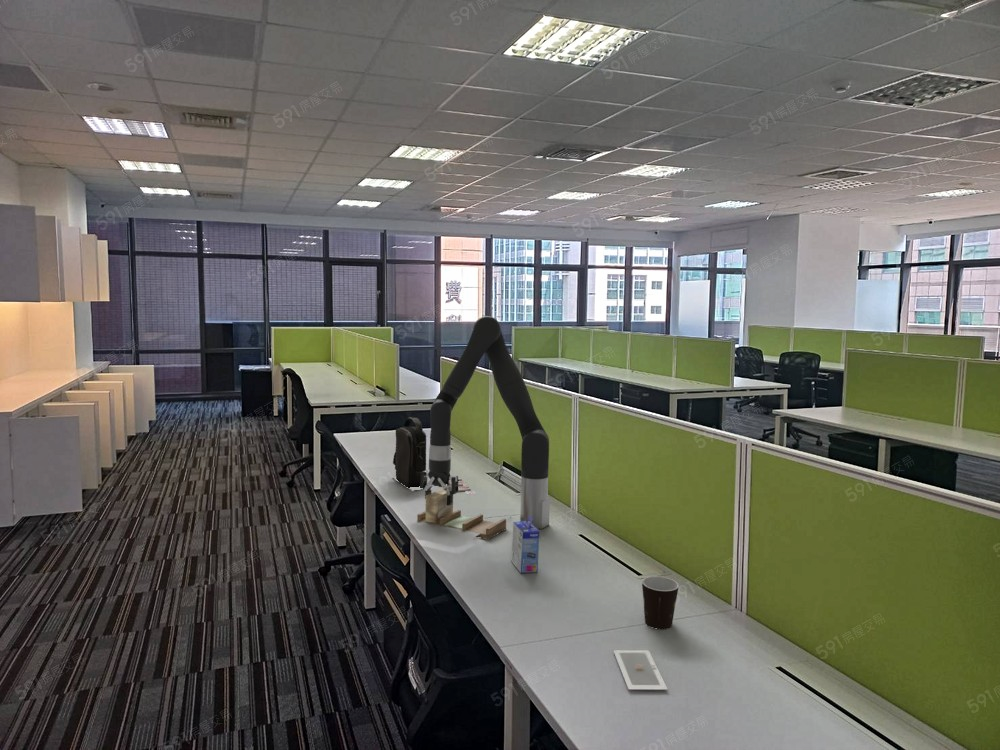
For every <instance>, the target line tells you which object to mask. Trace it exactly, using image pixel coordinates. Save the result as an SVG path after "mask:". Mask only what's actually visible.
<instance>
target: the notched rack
mask: <svg viewBox="0 0 1000 750" xmlns="http://www.w3.org/2000/svg"><path fill="white" fill-rule="evenodd" d="M416 519H417V521H419V522H422V523H423V522H424V523H427V524H428V523H429V524H433V525H436V526H437V525H438V526H442V527H448V528H451V529H456V530H461V531H466V532H471V533H476V534H478V535H475V538H478V537H481V538H480V539H483V538H486V539H485V540H488V539H489V540H490V539H492V538H493V536H494V535H495V536H497V535H498V534H497V533H499V532H500V533H502V532H503V531H502V530H504V529H505V530H507V519H506V518H502V519H501V520H499V521H496V522H494V521H488V520H484V514H482V513H480V514H477V515H476V516H474V517H468V516H463V515H462V511H461V510H460V509H457V510H455V511H453V513H451V514H449V515H447V516H445V517H443V518H441V519H439V522H437V523H431V522H426V510H424V511H423V512H421V513H418V514H417V518H416ZM505 530H504V531H505ZM501 531H502V532H501ZM500 533H499V534H500ZM496 534H497V535H496ZM495 536H494V537H495ZM491 537H492V538H491Z"/></svg>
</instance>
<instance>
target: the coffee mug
mask: <svg viewBox="0 0 1000 750" xmlns="http://www.w3.org/2000/svg"><path fill="white" fill-rule="evenodd" d="M641 586H642V587H641V588H642V599H643V600H642V601H643V613H644V623H645V624H647V625H646V626H647V627H649V626H650V628H651V627H653V628H652V629H655V628H657V629H656V630H668V629H670V628H672V626H673V622H674V621H673V620H674V614H675V609H676V604H677V598H678V591H679V583H678V582H677V581H676V580H674V579H672V578H669V577H666V576H660V575H656V576H655V575H652V576H647V577H644V578H643V579H642V580H641ZM667 628H668V629H667Z"/></svg>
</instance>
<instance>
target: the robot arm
mask: <svg viewBox="0 0 1000 750" xmlns="http://www.w3.org/2000/svg"><path fill="white" fill-rule="evenodd" d="M472 329H473V330H472V332H471V334H470V337H469V340H468V342H467V344H466V345H465V347H464V348H465V349H464V351H463V352H462V353H461V355H460V357H459V359H458V360H457V362H456V363H455V365H454V367H453V368H452V370H451V371H450V373H449V375H448V376H447V378H446V379H445V382H444V384H443V385H442V388H441V390H440V391H439V392H438V395H436V398H435V399H434V400H433V403H431V407H430V411H429V413H430V434H429V435H430V436H429V449H428V470H429V471H428V470H427V469H426V471H423V472H421V481H420V488H423V489H424V490H423V491H424V496H425V497H424V498H425V500H426V495H429V494H431V493H432V489H433V487H439V488H442V489H444V490H445V491H446V493H447V506H450V505H451V504H452V503H453V504H454V495H456V494H457V493H459V492H458V487H459V486H458V478H459V476H458V475H455V476H453V475H451V473H450V472H451V468H452V467H451V465H452V464H451V462H452V461H451V460H452V447H451V437H452V434H451V433H452V431H451V418H452V417H451V416H452V411H453V409H454V407H455V406H456V403H457V401H458V400H459V398H460V397H461V396H462V394H463V393H464V391H465V390H466V389H467V386H468V384H469V383H470V381H471V379H472V377H473V375H474V373H475V371H476V370H477V367H478V365H479V363H480V361H481V359H482V358H483V356H484V355H485V354H486V357H487V359H488V361H489V364H490V365H489V366H490V369H491V372H492V376H493V378H494V380H493V381H494V382H495V385H496V387H497V391H498V392H499V394H500V397H501V399H502V401H503V403H504V404H505V406H506V407H507V409H508V410H509V412H510V413H511V415H512V417H513V418H514V420H515V422H516V424H517V427H518V430H519V433H520V436H521V440H522V441H521V461H520V462H521V466H520V467H521V476H520V477H521V480H520V516H519V520H520V521H519V522H521V521H526V520H527V519H528V517H529V516H530V517H531V518H532V519H533V522H532V525H533V526H534V527H535V528H536V529H538V530H539V529H540V530H543V529H544V528H545V527H547V526H548V525H550V507H551V506H550V504H551V501H550V500H551V498H550V497H548V496H549V494H548V493H549V469H550V467H549V465H550V464H549V463H550V438H549V435H548V433H547V432H546V430H545V429H544V426H543V425H542V423H541V422H540V420H539V417H538V415H537V413H536V411H535V408H534V405H533V402H532V398H531V394H530V393H529V390H528V388H527V387H528V386H527V385H526V383H525V380H524V378H523V376H522V373H521V371H520V369H519V367H518V366H517V364H516V363H515V361H514V358H513V357H512V356H511V354H510V351H509V350H508V348H507V344H506V341H505V339H504V335H503V332H502V326H501V325H500V322H499V321H498V320H497V319H496V317H493V316H489V315H484V316H481V317H479V318H478V319H477V320H476V321H475V323H474V325H473V328H472ZM428 478H429V481H428ZM449 480H451V481H450V482H451V484H450V482H449ZM446 484H447V486H446ZM451 485H452V486H451ZM431 488H432V489H431ZM528 521H529V522H530V520H528Z"/></svg>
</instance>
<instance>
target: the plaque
mask: <svg viewBox="0 0 1000 750" xmlns="http://www.w3.org/2000/svg"><path fill="white" fill-rule="evenodd" d="M458 480H459V481H458V493H459V492H464V491H465V492H464V493H465V494H466V495H467V494H468V495H477V493H476V492H475V491H474V490H472V489H471V487H470V486H468V484H467V483H466V482H465V481H464V480H463V479H462V477H461V478H460V477H458ZM450 481H451V480H449V482H450ZM450 484H451V482H450ZM451 486H452V485H451Z"/></svg>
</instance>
